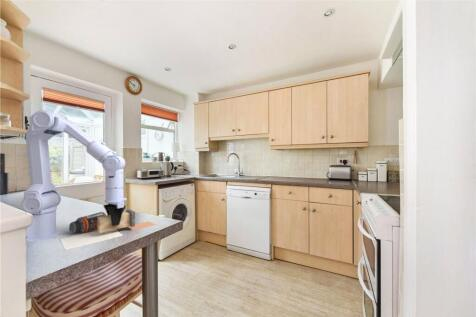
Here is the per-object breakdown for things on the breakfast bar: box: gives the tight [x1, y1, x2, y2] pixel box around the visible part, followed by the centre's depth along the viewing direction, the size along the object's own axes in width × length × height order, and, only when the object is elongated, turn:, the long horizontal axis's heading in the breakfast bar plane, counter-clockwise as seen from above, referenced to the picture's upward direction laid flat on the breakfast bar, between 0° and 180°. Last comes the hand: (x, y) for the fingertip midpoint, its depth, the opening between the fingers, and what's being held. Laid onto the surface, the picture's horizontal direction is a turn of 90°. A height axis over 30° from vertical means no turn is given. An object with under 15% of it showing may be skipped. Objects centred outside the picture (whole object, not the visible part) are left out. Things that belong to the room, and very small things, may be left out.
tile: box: [127, 221, 156, 232], centre depth 83 cm, size 1×6×9 cm
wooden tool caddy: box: [97, 209, 136, 233], centre depth 77 cm, size 11×6×6 cm, turn 136°
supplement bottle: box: [68, 211, 107, 234], centre depth 79 cm, size 6×6×11 cm
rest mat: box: [59, 229, 124, 251], centre depth 71 cm, size 16×12×1 cm
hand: (114, 224), depth 76 cm, fingers closed on wooden tool caddy, 3 cm apart
